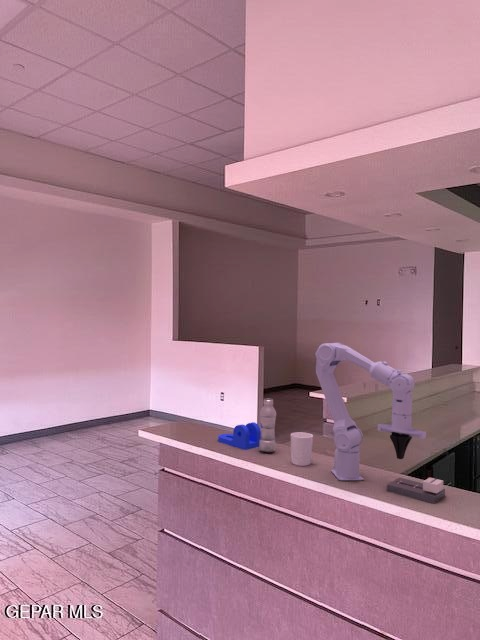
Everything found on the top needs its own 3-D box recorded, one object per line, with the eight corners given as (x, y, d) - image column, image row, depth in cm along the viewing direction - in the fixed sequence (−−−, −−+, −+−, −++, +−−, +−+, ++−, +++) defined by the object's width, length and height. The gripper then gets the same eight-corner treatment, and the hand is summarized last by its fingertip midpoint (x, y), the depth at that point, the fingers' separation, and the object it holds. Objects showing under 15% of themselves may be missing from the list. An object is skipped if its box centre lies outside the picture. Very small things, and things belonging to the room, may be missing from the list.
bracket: (260, 446, 194) (260, 424, 194) (245, 450, 188) (246, 426, 188) (228, 437, 207) (229, 416, 207) (214, 440, 201) (214, 419, 201)
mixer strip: (386, 490, 148) (386, 484, 148) (399, 483, 154) (399, 477, 154) (433, 503, 138) (434, 496, 138) (444, 495, 145) (445, 488, 145)
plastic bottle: (275, 449, 189) (277, 398, 189) (275, 454, 183) (276, 401, 182) (259, 448, 190) (260, 397, 190) (257, 453, 183) (259, 400, 183)
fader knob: (422, 489, 142) (423, 481, 142) (429, 485, 146) (429, 477, 146) (436, 493, 140) (437, 484, 140) (443, 489, 144) (443, 480, 143)
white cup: (285, 461, 175) (286, 433, 175) (303, 458, 179) (304, 431, 179) (298, 467, 168) (298, 438, 168) (316, 464, 172) (317, 436, 172)
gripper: (430, 415, 148) (429, 460, 148) (385, 408, 157) (383, 450, 157) (421, 419, 142) (420, 465, 142) (375, 411, 152) (373, 455, 152)
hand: (400, 458), depth 150 cm, fingers closed
